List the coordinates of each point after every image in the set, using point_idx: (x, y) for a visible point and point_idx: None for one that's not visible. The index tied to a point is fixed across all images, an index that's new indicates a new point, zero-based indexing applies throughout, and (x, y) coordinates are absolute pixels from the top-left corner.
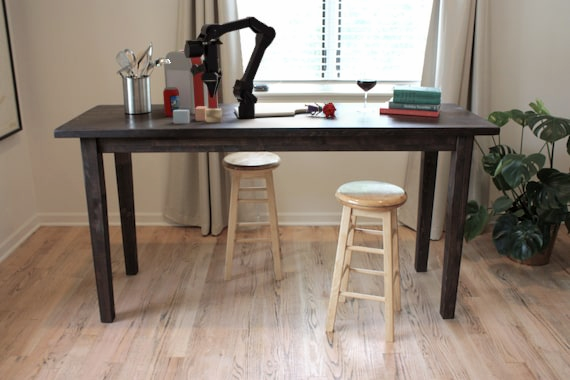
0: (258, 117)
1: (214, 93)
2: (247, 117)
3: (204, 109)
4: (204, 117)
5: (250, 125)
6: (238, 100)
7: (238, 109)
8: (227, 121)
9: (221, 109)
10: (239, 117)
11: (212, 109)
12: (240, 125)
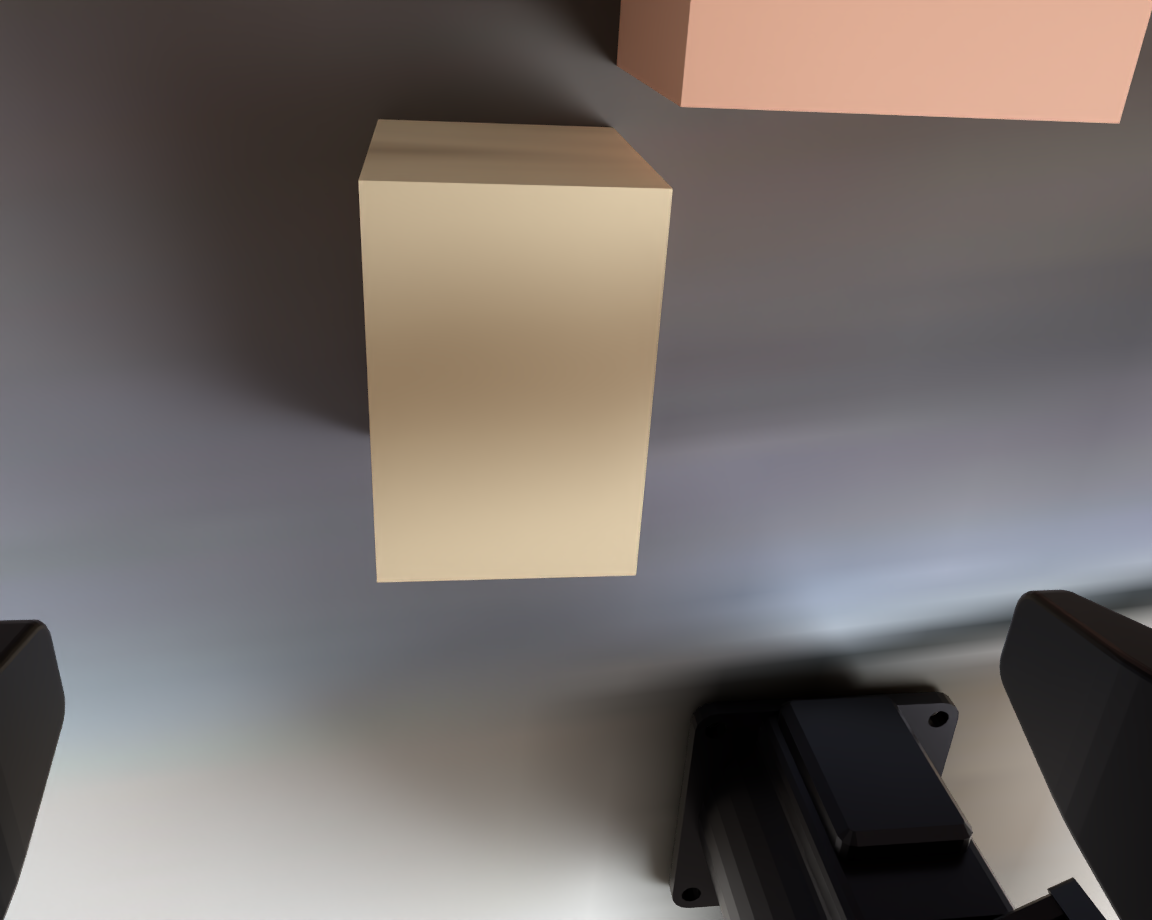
0: None
1: (1027, 643)
2: (680, 824)
3: (672, 94)
4: (630, 54)
5: (74, 914)
6: (1068, 918)
7: (826, 798)
8: None
9: (586, 566)
10: (703, 717)
11: (490, 369)
12: (53, 792)
